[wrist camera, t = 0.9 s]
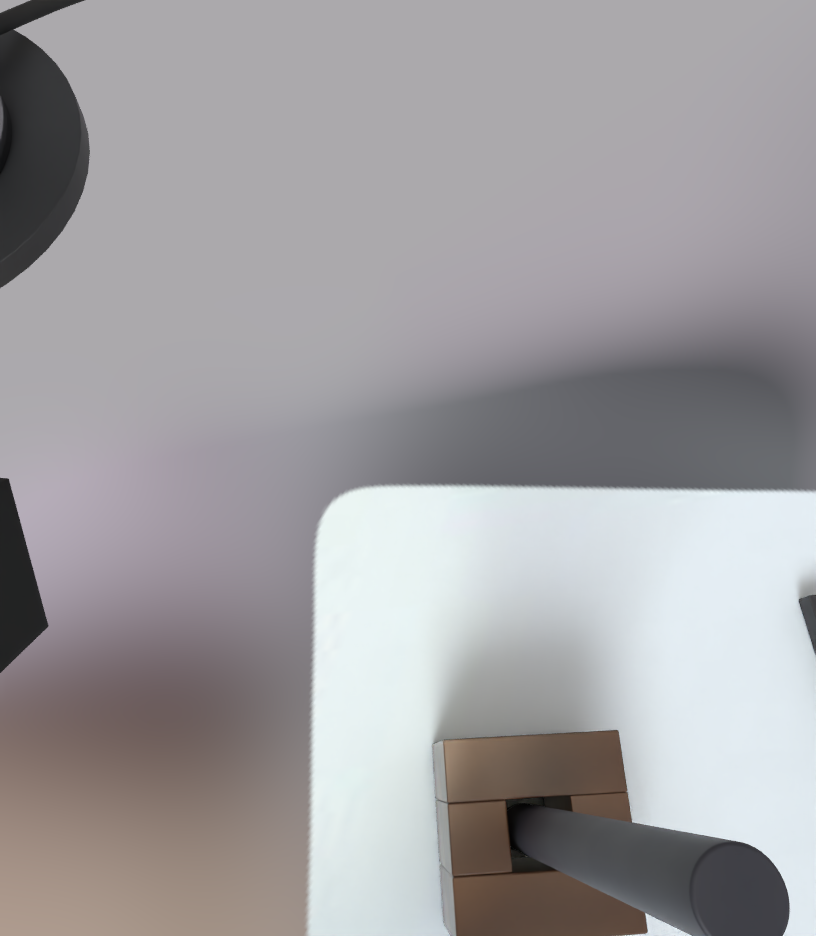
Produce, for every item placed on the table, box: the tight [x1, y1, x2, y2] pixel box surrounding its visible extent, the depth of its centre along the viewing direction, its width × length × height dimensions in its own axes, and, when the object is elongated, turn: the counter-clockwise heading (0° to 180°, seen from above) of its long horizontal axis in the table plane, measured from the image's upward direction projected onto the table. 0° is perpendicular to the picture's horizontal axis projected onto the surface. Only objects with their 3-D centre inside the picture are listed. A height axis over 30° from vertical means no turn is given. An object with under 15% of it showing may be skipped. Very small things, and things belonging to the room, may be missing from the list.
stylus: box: [507, 803, 789, 936], centre depth 23 cm, size 2×2×20 cm
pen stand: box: [432, 730, 648, 936], centre depth 30 cm, size 7×7×4 cm
